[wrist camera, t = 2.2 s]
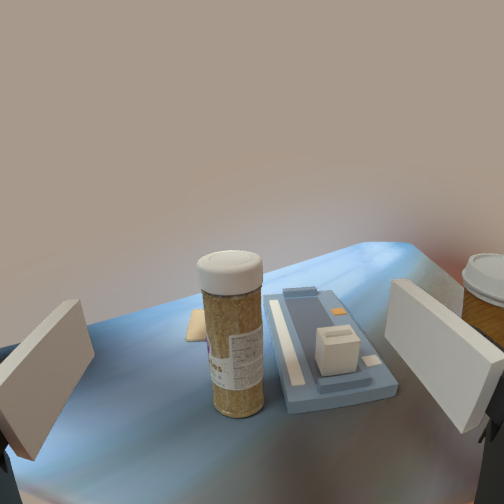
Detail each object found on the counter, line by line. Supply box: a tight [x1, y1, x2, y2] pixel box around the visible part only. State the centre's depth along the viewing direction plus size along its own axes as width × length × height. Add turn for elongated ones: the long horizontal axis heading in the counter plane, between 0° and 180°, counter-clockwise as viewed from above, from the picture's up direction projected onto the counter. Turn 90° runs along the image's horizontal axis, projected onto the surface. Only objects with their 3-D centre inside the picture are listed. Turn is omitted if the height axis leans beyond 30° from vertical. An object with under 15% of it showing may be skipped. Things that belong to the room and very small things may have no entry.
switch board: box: [263, 287, 399, 414], centre depth 35 cm, size 10×22×2 cm, turn 4°
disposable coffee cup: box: [461, 253, 504, 348], centre depth 23 cm, size 10×10×12 cm
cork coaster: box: [185, 309, 207, 342], centre depth 40 cm, size 8×8×1 cm
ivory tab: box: [315, 324, 361, 377], centre depth 27 cm, size 3×3×4 cm
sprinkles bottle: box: [197, 250, 264, 418], centre depth 24 cm, size 5×5×14 cm
